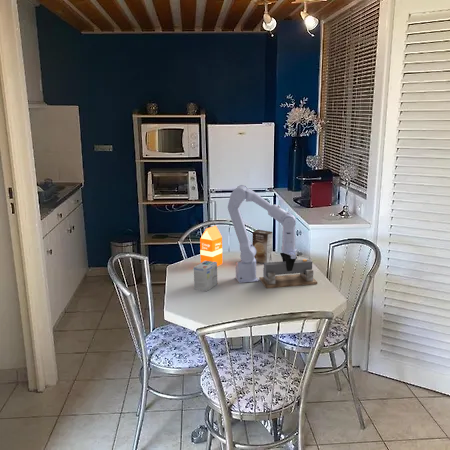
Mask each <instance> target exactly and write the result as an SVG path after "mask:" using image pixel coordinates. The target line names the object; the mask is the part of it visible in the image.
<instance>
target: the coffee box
mask: <svg viewBox="0 0 450 450" xmlns="http://www.w3.org/2000/svg"><path fill="white" fill-rule="evenodd" d="M251 242H252V245H253V246H254V247H255V248H256V255H255V256H254V257H255V259H256V263H260V264H264V263H268V262H273V231H269V230H263V229H256V230H254V231H253V232H252V241H251Z"/></svg>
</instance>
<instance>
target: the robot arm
mask: <svg viewBox="0 0 450 450" xmlns="http://www.w3.org/2000/svg"><path fill="white" fill-rule="evenodd" d="M244 201H245V202H253V203H255V204H256V205H258V206H260V207H261V208H263V209H264V210H265V211H267V214H268V216H270V217H271V218H272V219H274V220H276V221H277V222H279V223H281V224H282V238H281V239H282V240H281V241H282V244H281V248H280V249H281V252H280V253H279V254H280V256H281V259H282V261H286V267H287V271H292V269H293V265H294V262H295V260H298V259H297V258H298V257H297V254H296V252H298V249H297V248H296V221H297V220H296V217H295V215H294V214H293V213H290V212H289V211H287V210H285V209H284V208H282V206H281V205H280V204H278V205H277V204H272V203H270V202H269V201H267V200H266V199H265V198H264V197H262V196H261V195H259V194H258V193H256V191H255V190H253V189H251V188H249V187H247V186H246V185H243V184H240V185H238V186H237V187H236V188H235V189H233V191H232V192H231V193H230V196H229V201H228V204H227V209H228V210H227V211H228V214H229V217H230V219H231V223H232V225H233V228H234V232H235V234H236V237H237V240H238V241H237V242H238V243H239V251H240V256H239V257H240V261H236V262H235V279H236V281H237V282H238V283H239V284H241V283H253V282H259V281H260V280H259V278H258V277H257V262H256V259H255V257H254V256H255V255H256V248H255V247H254V246H253V245H252V241H251V239H250V237H249V233H248V231H247V229H246V226H245V225H246V224H245V222H244V219H243V216H242V213H241V210H240V206H241V205H242V203H243V202H244Z"/></svg>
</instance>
